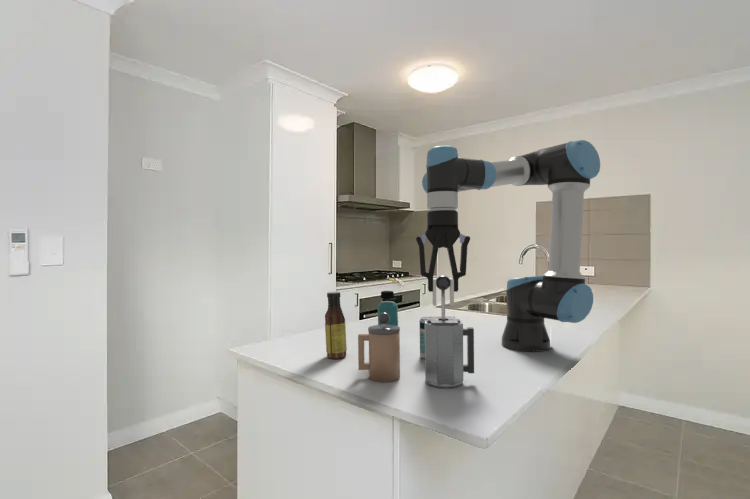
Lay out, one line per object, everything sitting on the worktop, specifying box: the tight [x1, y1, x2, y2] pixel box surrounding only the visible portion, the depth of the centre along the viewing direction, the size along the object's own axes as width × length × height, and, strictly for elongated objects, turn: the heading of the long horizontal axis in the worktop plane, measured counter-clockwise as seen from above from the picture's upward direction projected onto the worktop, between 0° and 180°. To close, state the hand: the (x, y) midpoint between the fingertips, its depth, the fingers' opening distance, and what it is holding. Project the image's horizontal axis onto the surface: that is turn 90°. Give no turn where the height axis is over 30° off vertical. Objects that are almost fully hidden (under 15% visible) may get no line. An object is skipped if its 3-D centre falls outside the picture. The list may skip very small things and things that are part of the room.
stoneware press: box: [357, 312, 401, 383], centre depth 104 cm, size 11×8×17 cm
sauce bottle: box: [324, 291, 348, 360], centre depth 124 cm, size 6×6×20 cm
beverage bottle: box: [377, 290, 399, 327], centre depth 124 cm, size 6×7×20 cm
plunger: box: [436, 275, 450, 320], centre depth 100 cm, size 6×6×20 cm
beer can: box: [419, 316, 431, 360], centre depth 121 cm, size 5×5×12 cm
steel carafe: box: [424, 316, 475, 390], centre depth 100 cm, size 12×9×16 cm
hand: (443, 304), depth 100 cm, fingers closed on plunger, 4 cm apart
